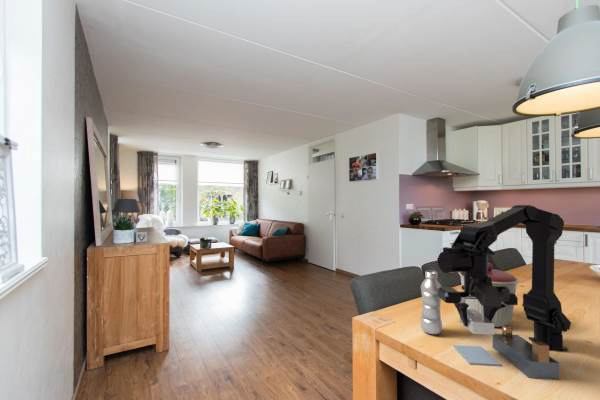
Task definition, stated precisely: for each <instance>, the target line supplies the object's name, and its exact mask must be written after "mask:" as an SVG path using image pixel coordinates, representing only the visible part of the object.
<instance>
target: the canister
mask: <svg viewBox="0 0 600 400" xmlns="http://www.w3.org/2000/svg"><path fill="white" fill-rule="evenodd" d="M457 273H458V275H459V276H460V283H461V287H462V286H464V276H463V275H462V272H457ZM488 276H489V277H491V279H492V284H493V286H498V287H499V286H506V287H507V288H508V289H509V291H510V292H512V293H514V294H515V295H516V292H517V284H518V283H520V279H519V278H518V277H516V276H514V275H513V274H511V272H510V273H509V272H506V271H504V270H500V269H499V270H498V269H494V265H493V264H492V263H490V262H488ZM461 292H464V290H463V289H462V288H461ZM470 296H471V295H470ZM466 303H467V304H468V305H469V306H468V308H467V309H475V310H476V311H478V312H479V313H481V314H482V315H483V316H484V312H483V305H481V304H480V302H479V301H478V299H466ZM502 304H504V305H506V304H505V303H504V302H503V301H502ZM514 306H515V305H506V307H505V308H500V309H499V310H497V312H496V313H495V315H494V317H493V319H492V322H493V323H494V328H502V326H503V325H506V326H509V325H510V323H511V321H512V318H513V312H514Z"/></svg>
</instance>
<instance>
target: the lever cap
mask: <svg viewBox="0 0 600 400" xmlns="http://www.w3.org/2000/svg"><path fill="white" fill-rule="evenodd" d="M467 321H468V322H467V327H466V326H464V324H463V322H462V320H461V317H460V316H459V323H460V324H461V325H463V326H464V327H465V328H466V329H467V330H468V331H470V333H472V335H473V334H474V335H492V336H493V335H494V334H495V327H494V323H493V322H492V321H490V320H489V319H487V318H486V317H485V316H483V315H482V314H481V313H479V312H478V311H476V310H475V309H467Z"/></svg>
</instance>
